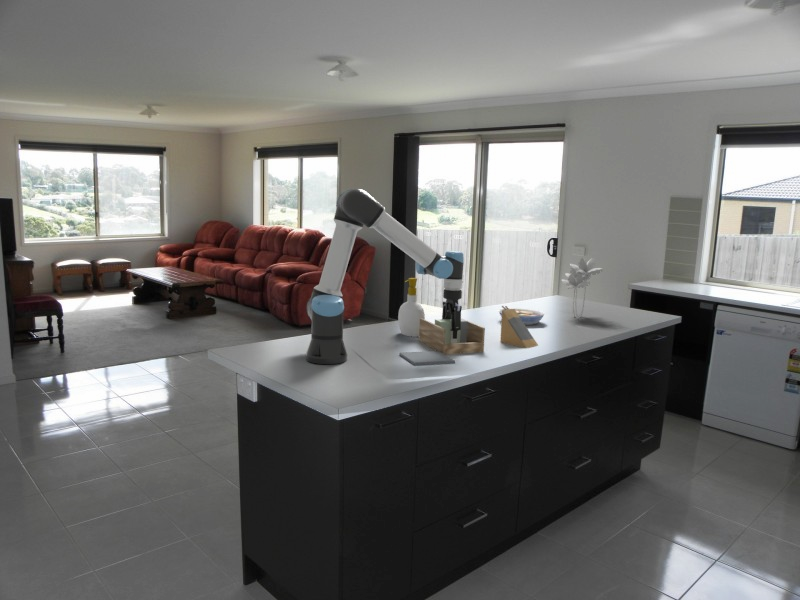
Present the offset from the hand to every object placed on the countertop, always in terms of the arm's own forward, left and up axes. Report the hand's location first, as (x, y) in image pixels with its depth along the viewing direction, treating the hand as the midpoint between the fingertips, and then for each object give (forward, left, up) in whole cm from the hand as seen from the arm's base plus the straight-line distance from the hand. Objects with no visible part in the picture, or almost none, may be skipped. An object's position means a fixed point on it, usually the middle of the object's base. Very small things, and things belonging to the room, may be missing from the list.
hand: (449, 344), depth 248 cm
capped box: (0, 0, -1) cm, 1 cm away
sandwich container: (+31, -5, -1) cm, 31 cm away
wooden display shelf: (0, 0, -1) cm, 1 cm away
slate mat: (-18, -18, -1) cm, 25 cm away
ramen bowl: (+56, +37, -1) cm, 67 cm away
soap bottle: (-9, +23, -1) cm, 25 cm away
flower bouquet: (+94, +42, -1) cm, 103 cm away
